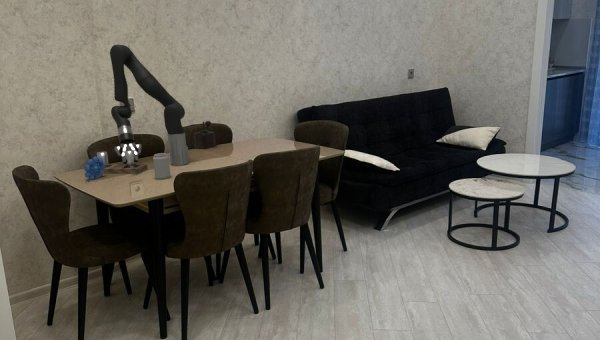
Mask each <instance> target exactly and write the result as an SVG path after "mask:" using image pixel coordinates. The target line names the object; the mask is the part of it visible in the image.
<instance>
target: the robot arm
mask: <svg viewBox="0 0 600 340" xmlns="http://www.w3.org/2000/svg"><path fill="white" fill-rule="evenodd" d="M109 55H110V61H111V62H110V63H111V68H112V74H113V75H112V77H113V87H114V91H113V93H114V94H113V95H114V101H116V102H120V103H122V104H123V105H113V106H112V107H111V109H110V114H111V117H112V119H113V120H114V122H115V124H116V128H117V134H118V135H117V136H118V142H119V146H114V152H115V154H116V155H117V158H119V159H121V160H122V164H126V159H125V154H124V151H126V150H134V153H135V161H136V164H138V163H139V156H141V154H142V143H139V144H136V142H135V137H134V131H133V129H132V125H131V121H130V120H129V119H130V118H131V117H132V114H133V111H132V109H131V106H130V102H129V86H128V81H127V77H126V74H125V67H126V68H127V69H128V70H129V71H130V72H131V74H132V75H133V78H134V79H135V82H136V83H137V85H138V86H139V87H140V88H141V89H142V91H144V93H145V94H147V95H148V96H149V97H150V98H153V99H154V100H155V101H157V102H158V103H160V105H162V106H163V108H164V110H163V120H164V126H165V129H166V132H167V141H168V150H169V162H170V165H171V166H175V167H177V166H185V165H188V164H190V158H189V155H190V154H189V148H188V147H189V146H188V145H187V141H186V131H185V127H184V126H183V125H182V121H181V120H182V119H183V118H184V117H185V115H186V110H185V108H184V106H183V105H182V104H181V103H180V102H179V101H178V100H176V98H174V96H172V95H171V94H170V93H169V92H168V91H167V90H166V89H165V87H164V86H163V85H162V84H161V83H160V81H159V80H158V79H157V78H156V77H155V76H154V75H153V74H152V73H151V72H150V71H149V69H147V68H146V66H144V64H142V62H140V60H139V58H137V56H136V55H135V53H134V52H133V50H132V49H131V48H130V47H129V46H127V45H124V44H114V45H112V47H110V50H109ZM136 148H137V150H138V151H137V150H136ZM120 150H121V151H122V153H120Z"/></svg>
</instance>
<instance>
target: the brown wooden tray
mask: <svg viewBox="0 0 600 340" xmlns="http://www.w3.org/2000/svg"><path fill="white" fill-rule="evenodd" d="M108 164H109V167H107V168H104V169H102V170H103V171H104V174H103V175H106V174H107V175H108V174H109V175H116V174H117V175H125V174H126V175H131V176H138V175H139V174H142V173H144V172H146V171H148V170H149V169H148V164H147V163H146V164H145V163H136V167H135V168H126V164H125V163H114V164H113V163H108Z"/></svg>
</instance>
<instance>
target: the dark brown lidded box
mask: <svg viewBox="0 0 600 340" xmlns="http://www.w3.org/2000/svg"><path fill="white" fill-rule="evenodd" d="M211 125H212V122H211V121H210V120H206V121H202V129H201V130H199V131H198V132H194V133H192V137H193V147H194V149H199V150H200V149H203V150H207V149H212V148H215V147H217V139H216V138H217V137H216V135H217V134H216V132H214V131H209V130H210V129H211V128H212V127H211ZM205 128H206V129H205ZM208 129H209V130H208Z"/></svg>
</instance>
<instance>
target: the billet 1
mask: <svg viewBox="0 0 600 340" xmlns="http://www.w3.org/2000/svg"><path fill="white" fill-rule="evenodd" d="M96 156H97V157H98V159H99V158H102V159H103V163H104V164H105V168H107V167H109V164H110V163H109V158H108V157H109V156H108V152H107V151H98V152H96Z"/></svg>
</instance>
